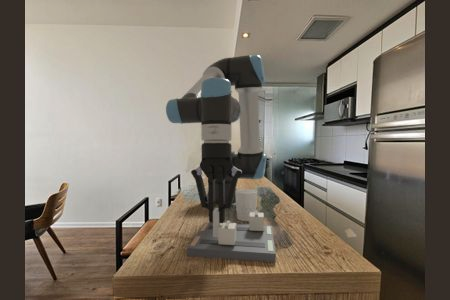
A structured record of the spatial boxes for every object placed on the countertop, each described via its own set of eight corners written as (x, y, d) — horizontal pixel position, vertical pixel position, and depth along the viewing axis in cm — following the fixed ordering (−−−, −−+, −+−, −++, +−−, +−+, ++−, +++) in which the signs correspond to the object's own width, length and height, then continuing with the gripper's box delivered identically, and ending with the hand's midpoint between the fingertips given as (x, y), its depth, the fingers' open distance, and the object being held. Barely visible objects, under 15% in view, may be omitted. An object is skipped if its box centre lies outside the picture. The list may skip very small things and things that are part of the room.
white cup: (256, 222, 79) (256, 193, 79) (233, 221, 80) (233, 192, 80) (257, 215, 87) (257, 189, 86) (237, 214, 88) (236, 188, 88)
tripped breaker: (221, 237, 61) (221, 220, 60) (236, 238, 60) (236, 220, 60) (218, 244, 56) (218, 225, 56) (234, 245, 56) (234, 226, 56)
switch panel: (204, 228, 74) (204, 222, 73) (271, 232, 70) (271, 225, 70) (186, 256, 56) (186, 247, 56) (275, 262, 53) (275, 253, 53)
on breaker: (250, 225, 69) (250, 210, 69) (263, 225, 69) (263, 210, 69) (249, 230, 65) (249, 214, 65) (263, 231, 65) (263, 214, 64)
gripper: (186, 142, 55) (187, 239, 56) (241, 142, 53) (241, 243, 54) (195, 142, 63) (196, 228, 63) (243, 142, 61) (243, 231, 61)
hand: (217, 235), depth 59 cm, fingers closed
